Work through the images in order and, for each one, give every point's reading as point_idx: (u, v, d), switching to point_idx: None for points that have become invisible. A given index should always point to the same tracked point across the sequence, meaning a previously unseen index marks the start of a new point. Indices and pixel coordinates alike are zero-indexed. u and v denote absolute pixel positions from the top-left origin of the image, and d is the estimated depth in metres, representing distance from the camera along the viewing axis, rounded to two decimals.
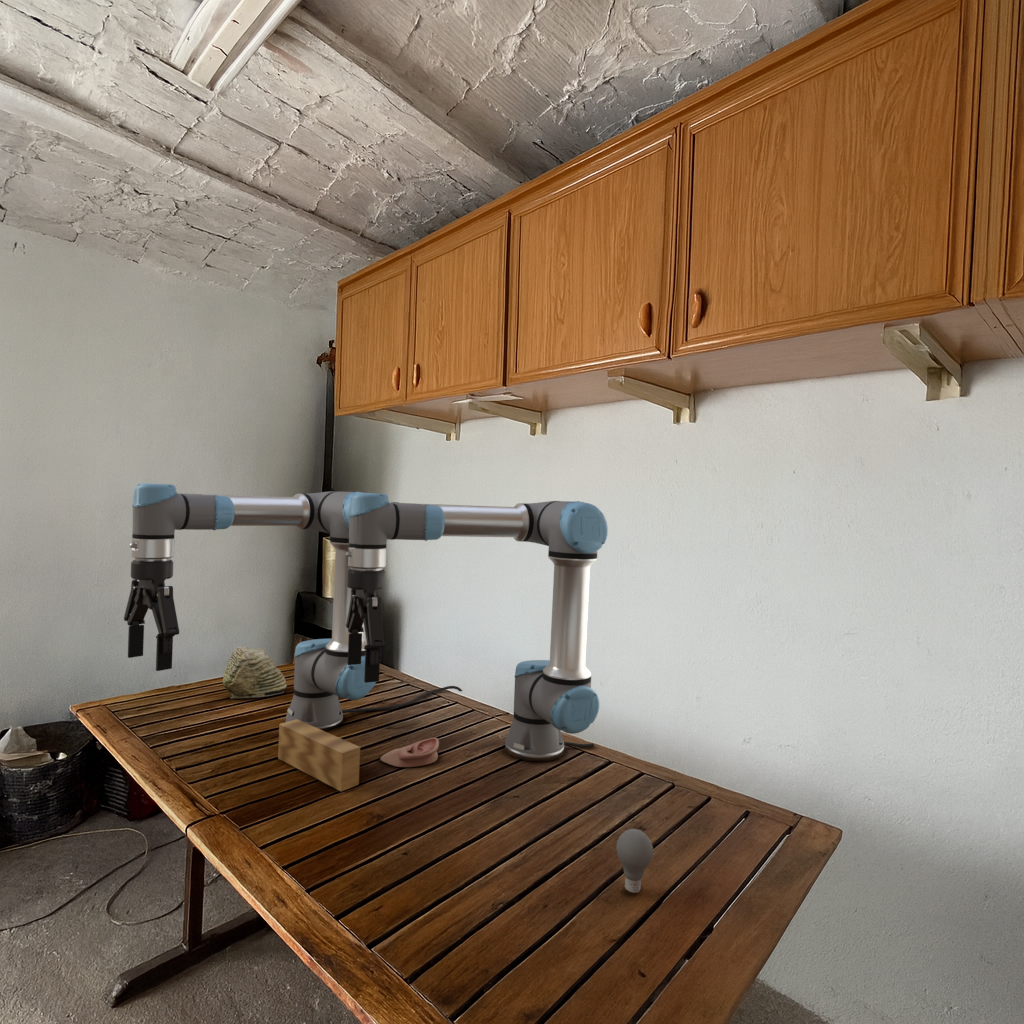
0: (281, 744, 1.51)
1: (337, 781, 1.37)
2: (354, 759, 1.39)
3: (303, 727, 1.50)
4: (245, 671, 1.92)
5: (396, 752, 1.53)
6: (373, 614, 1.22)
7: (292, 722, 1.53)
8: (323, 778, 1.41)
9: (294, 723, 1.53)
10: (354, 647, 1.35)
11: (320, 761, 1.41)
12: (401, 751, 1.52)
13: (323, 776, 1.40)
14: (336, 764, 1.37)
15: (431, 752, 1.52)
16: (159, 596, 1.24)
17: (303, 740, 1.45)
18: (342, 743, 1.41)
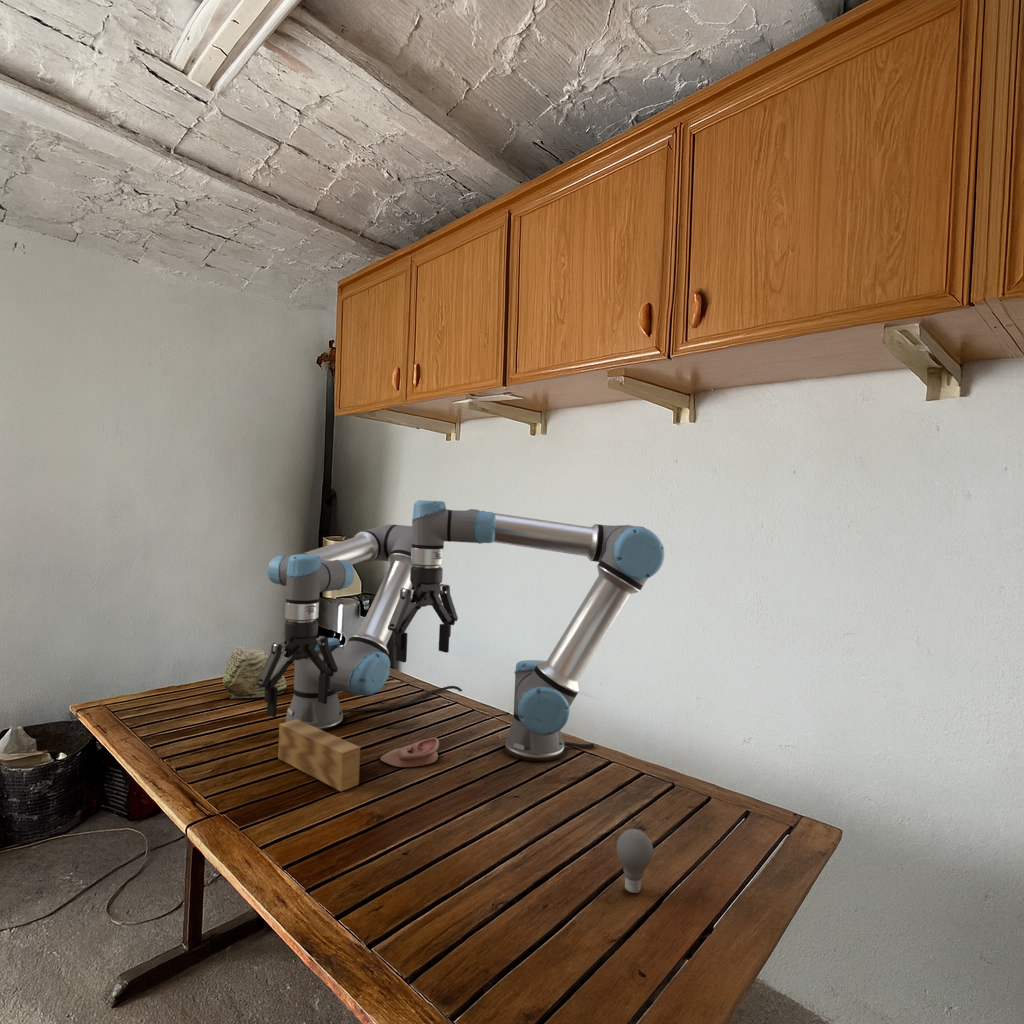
0: (281, 744, 1.51)
1: (337, 781, 1.37)
2: (354, 759, 1.39)
3: (303, 727, 1.50)
4: (245, 671, 1.92)
5: (396, 752, 1.53)
6: None
7: (292, 722, 1.53)
8: (323, 778, 1.41)
9: (294, 723, 1.53)
10: None
11: (320, 761, 1.41)
12: (401, 751, 1.52)
13: (323, 776, 1.40)
14: (336, 764, 1.37)
15: (431, 752, 1.52)
16: (326, 644, 1.55)
17: (303, 740, 1.45)
18: (342, 743, 1.41)
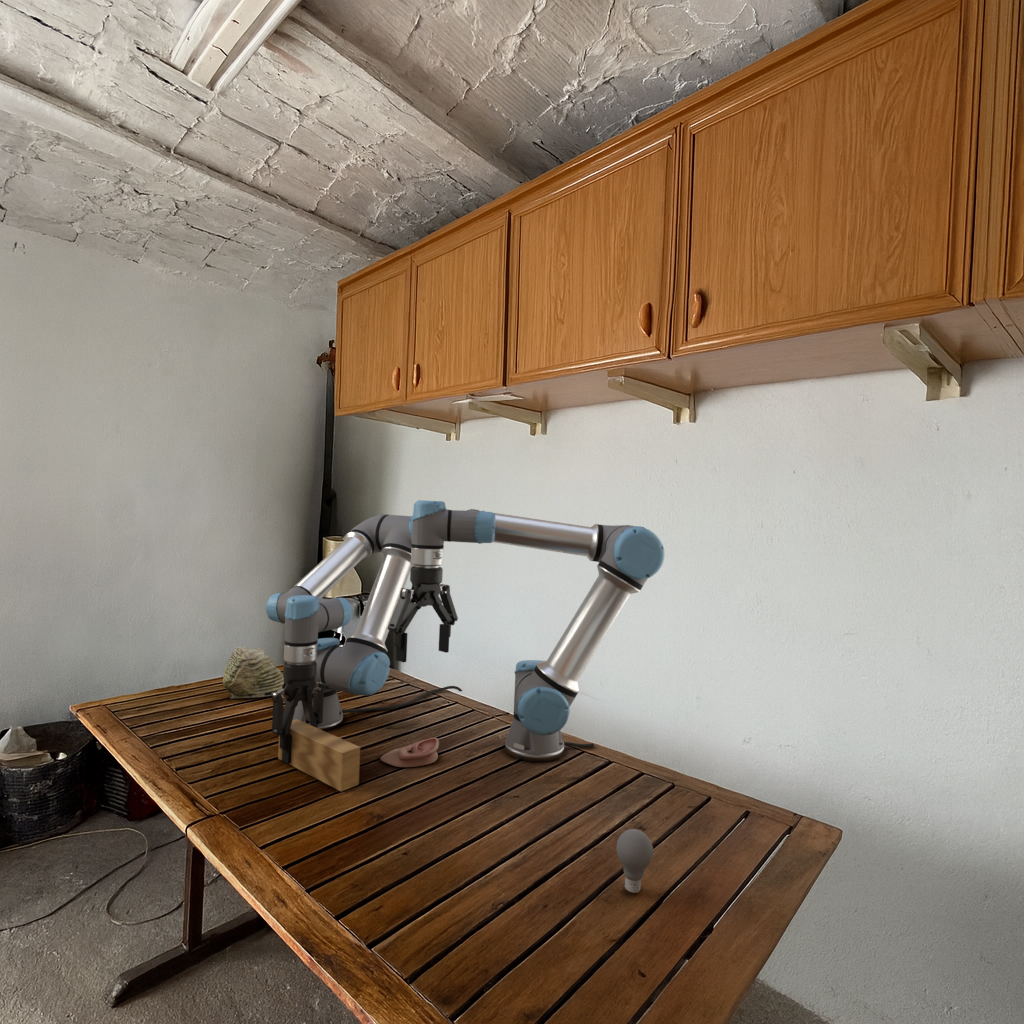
0: None
1: (337, 781, 1.37)
2: (354, 759, 1.39)
3: (303, 727, 1.50)
4: (245, 671, 1.92)
5: (396, 752, 1.53)
6: None
7: (292, 722, 1.53)
8: (323, 778, 1.41)
9: (294, 723, 1.53)
10: None
11: (320, 761, 1.41)
12: (401, 751, 1.52)
13: (323, 776, 1.40)
14: (336, 764, 1.37)
15: (431, 752, 1.52)
16: (322, 691, 1.54)
17: (303, 740, 1.45)
18: (342, 743, 1.41)
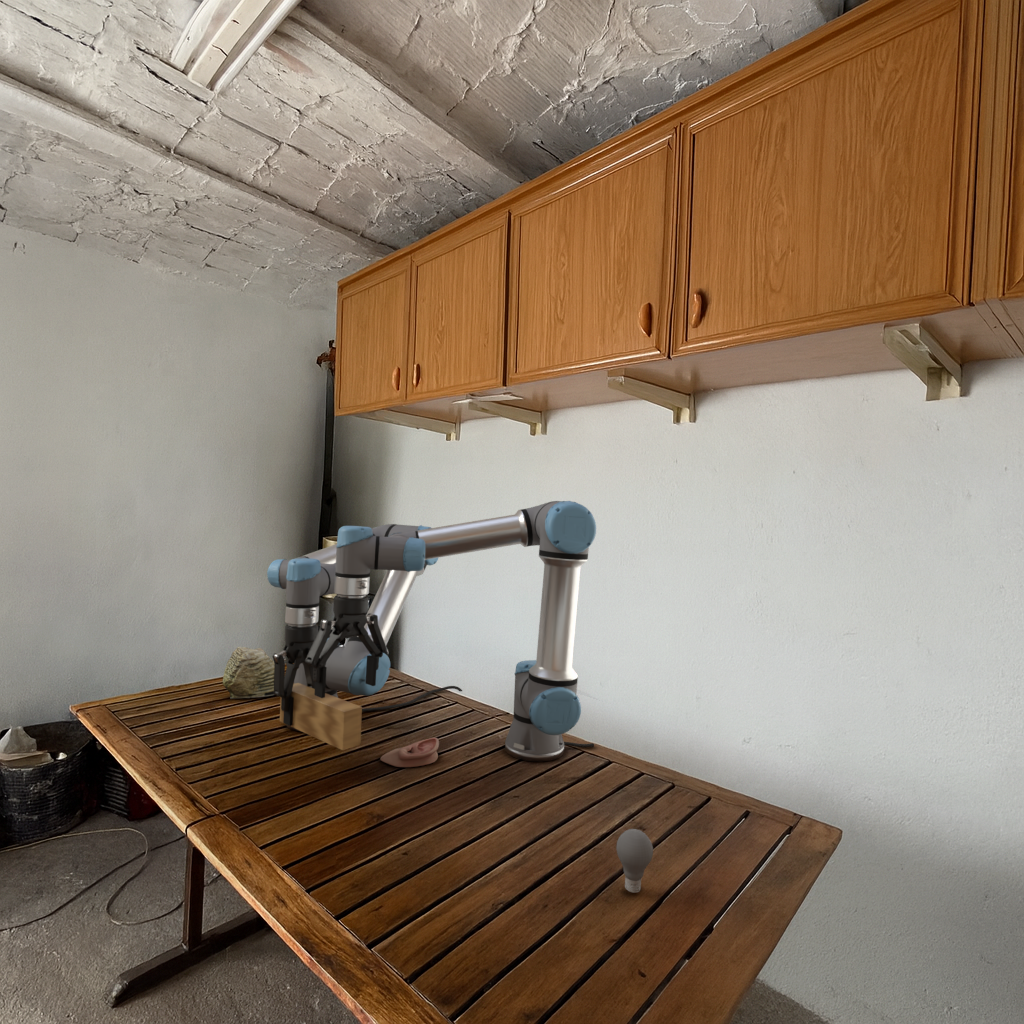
0: None
1: (339, 740, 1.37)
2: (356, 719, 1.39)
3: (305, 690, 1.50)
4: (245, 671, 1.92)
5: (396, 752, 1.53)
6: None
7: (293, 685, 1.53)
8: (324, 738, 1.40)
9: (295, 686, 1.52)
10: None
11: (321, 721, 1.41)
12: (401, 751, 1.52)
13: (325, 736, 1.40)
14: (338, 723, 1.37)
15: (431, 752, 1.52)
16: None
17: (305, 702, 1.45)
18: (344, 704, 1.41)
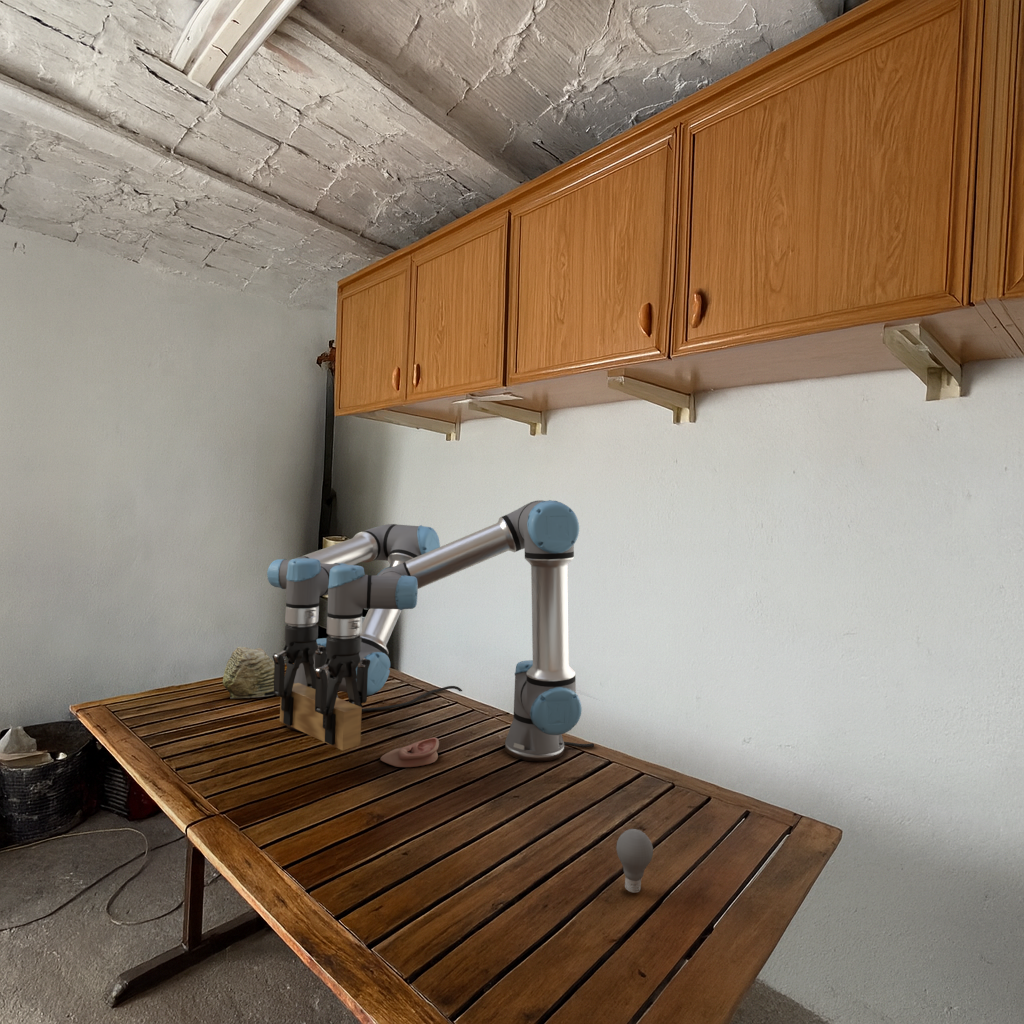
0: None
1: (339, 741, 1.37)
2: (355, 719, 1.39)
3: (305, 690, 1.50)
4: (245, 671, 1.92)
5: (396, 752, 1.53)
6: None
7: (293, 685, 1.53)
8: (324, 738, 1.40)
9: (295, 686, 1.52)
10: None
11: (321, 721, 1.41)
12: (401, 751, 1.52)
13: None
14: (338, 723, 1.37)
15: (431, 752, 1.52)
16: (323, 654, 1.54)
17: (305, 702, 1.45)
18: (344, 704, 1.41)
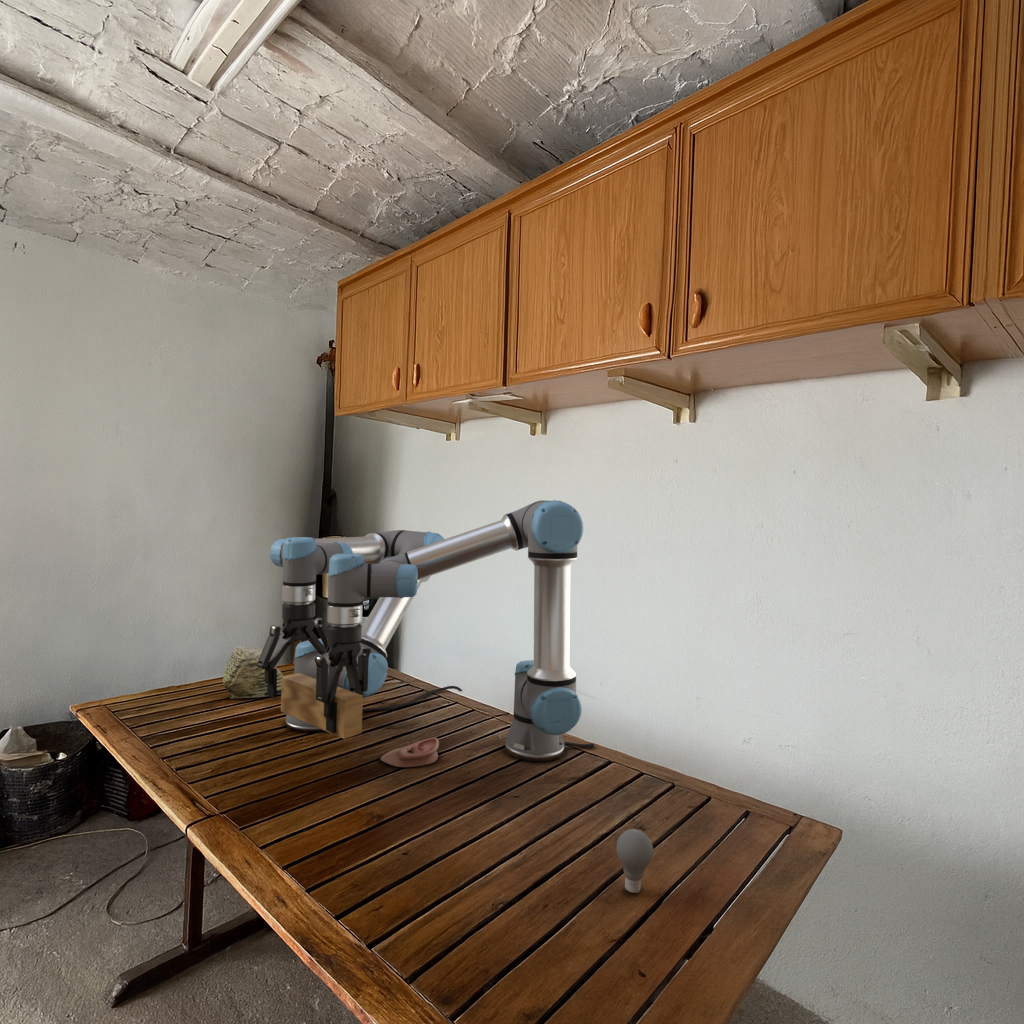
0: (284, 697, 1.51)
1: (340, 729, 1.37)
2: (357, 707, 1.39)
3: (306, 679, 1.50)
4: (245, 671, 1.92)
5: (396, 752, 1.53)
6: None
7: (294, 675, 1.53)
8: (325, 727, 1.40)
9: (296, 676, 1.52)
10: None
11: (322, 710, 1.41)
12: (401, 751, 1.52)
13: None
14: (339, 712, 1.37)
15: (431, 752, 1.52)
16: (323, 626, 1.56)
17: (306, 691, 1.45)
18: (345, 692, 1.41)
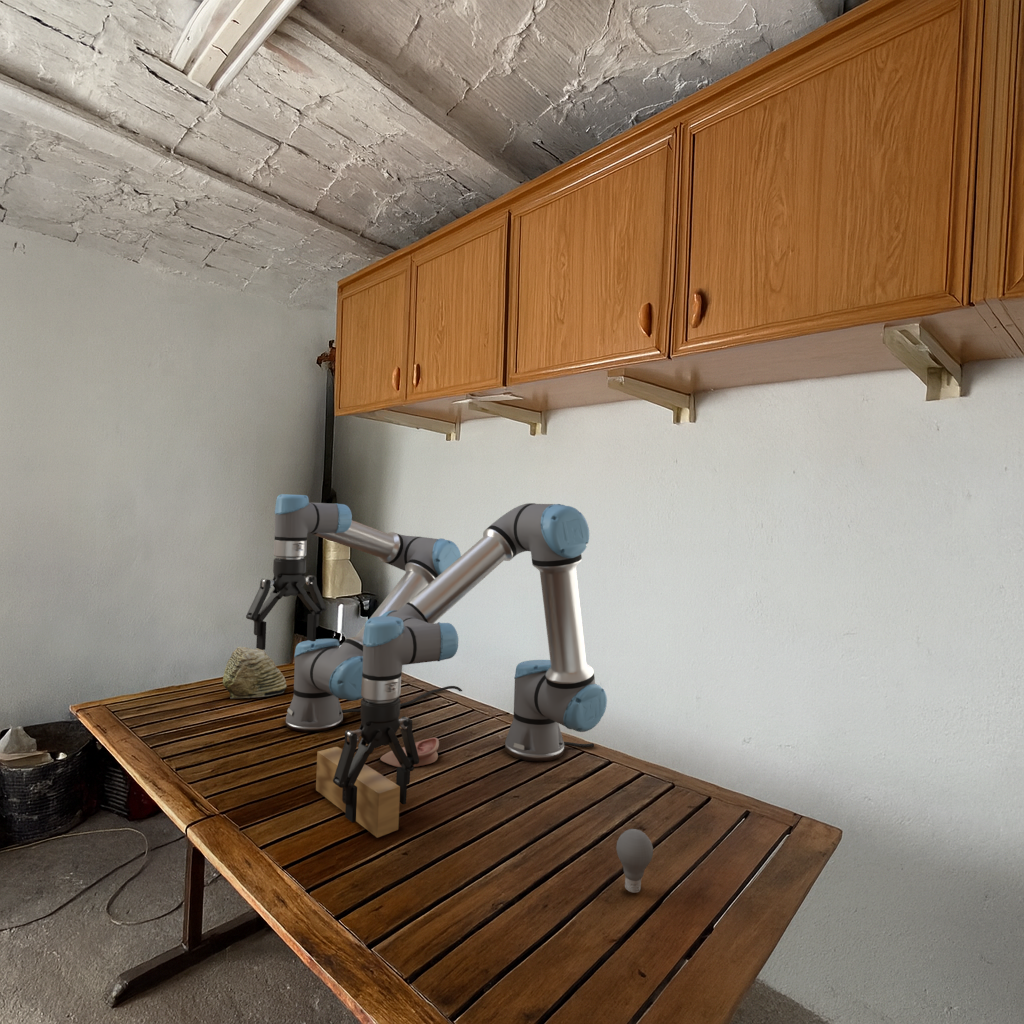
0: (319, 774, 1.36)
1: (373, 825, 1.20)
2: (393, 801, 1.21)
3: None
4: (245, 671, 1.92)
5: None
6: None
7: (331, 750, 1.38)
8: (359, 819, 1.23)
9: (333, 751, 1.37)
10: None
11: None
12: None
13: (359, 817, 1.23)
14: (373, 805, 1.20)
15: (431, 752, 1.52)
16: (314, 583, 1.58)
17: None
18: (381, 781, 1.24)
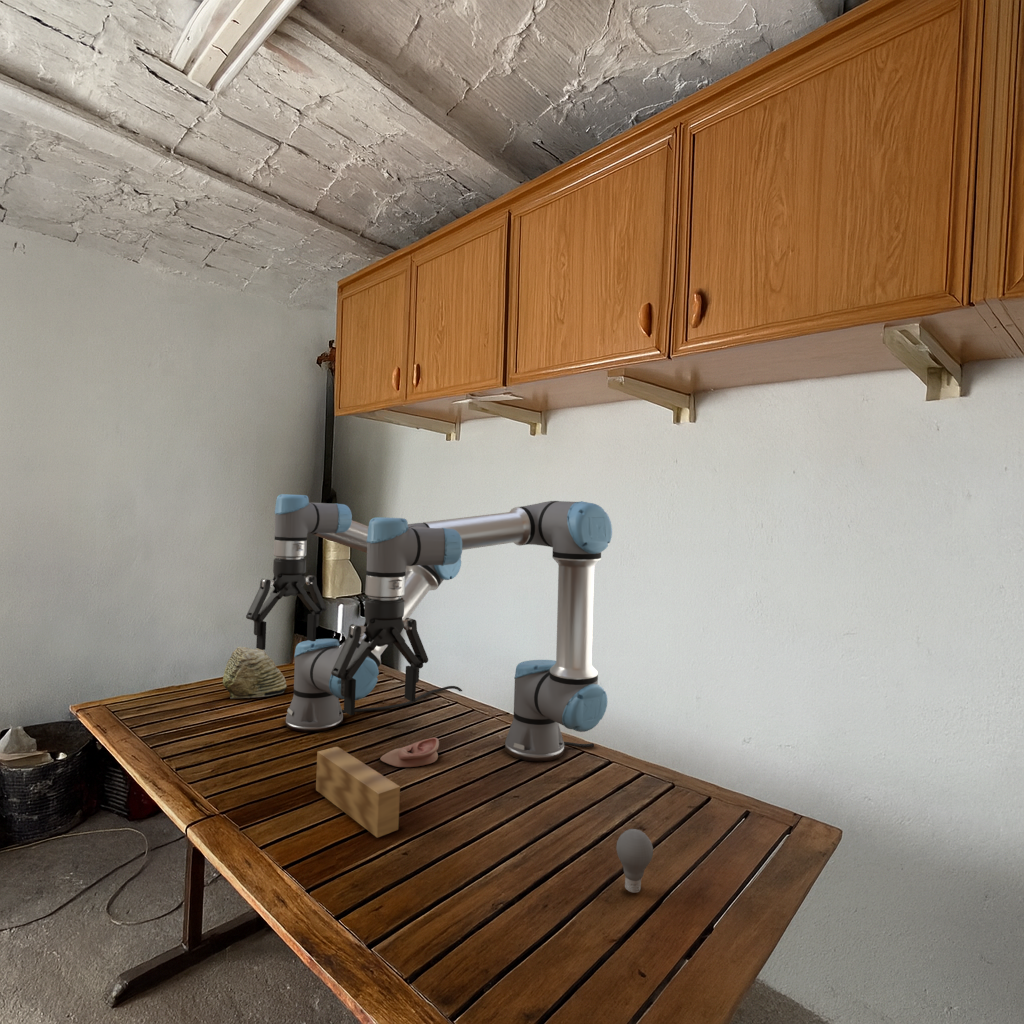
0: (319, 774, 1.36)
1: (373, 825, 1.20)
2: (393, 801, 1.21)
3: (342, 757, 1.34)
4: (245, 671, 1.92)
5: (396, 752, 1.53)
6: None
7: (331, 750, 1.38)
8: (359, 819, 1.23)
9: (333, 751, 1.37)
10: None
11: (356, 799, 1.24)
12: (401, 751, 1.52)
13: (359, 817, 1.23)
14: (373, 805, 1.20)
15: (431, 752, 1.52)
16: (314, 583, 1.58)
17: (340, 773, 1.29)
18: (381, 781, 1.24)
